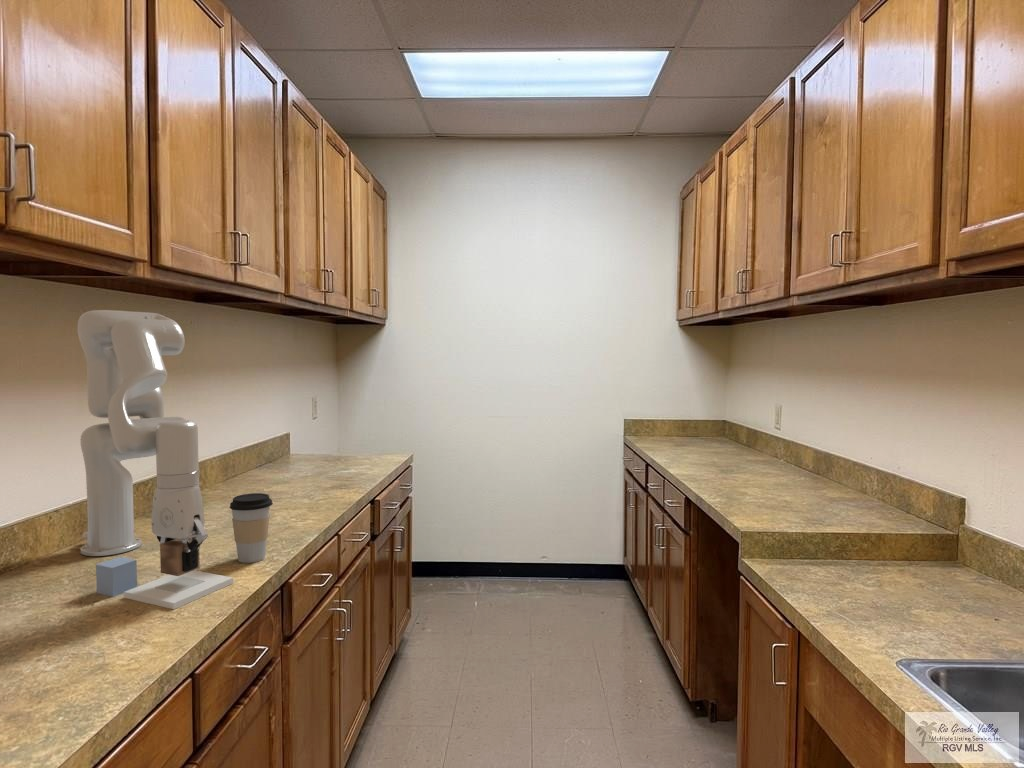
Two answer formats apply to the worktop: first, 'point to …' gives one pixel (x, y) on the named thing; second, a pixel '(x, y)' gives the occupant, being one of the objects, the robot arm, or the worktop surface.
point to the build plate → (178, 589)
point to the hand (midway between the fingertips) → (180, 566)
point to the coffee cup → (251, 525)
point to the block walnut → (173, 557)
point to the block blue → (116, 576)
